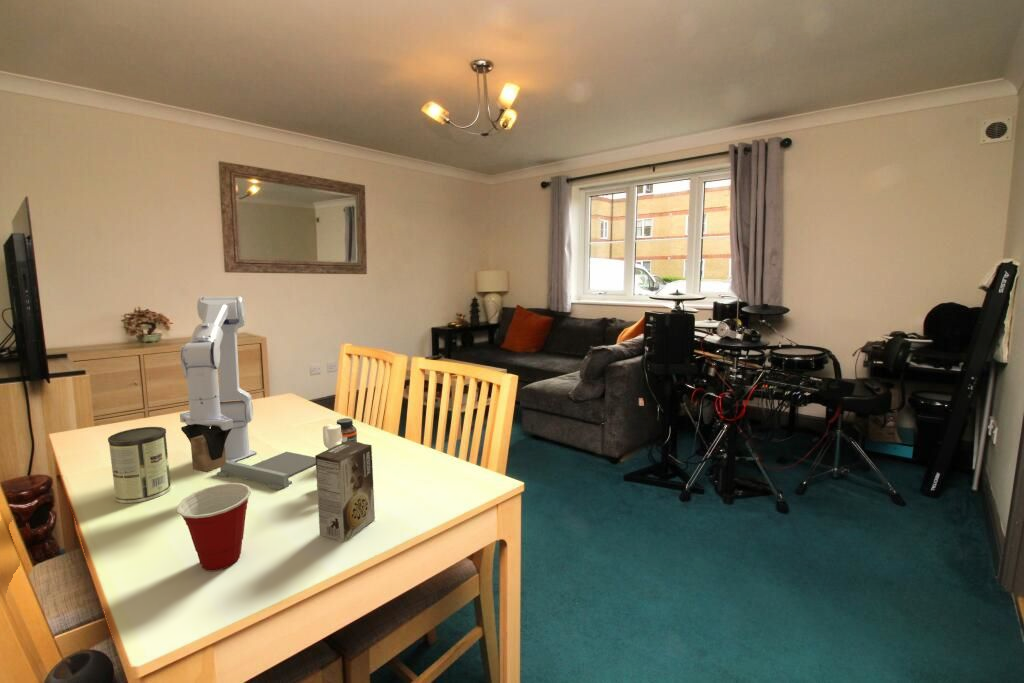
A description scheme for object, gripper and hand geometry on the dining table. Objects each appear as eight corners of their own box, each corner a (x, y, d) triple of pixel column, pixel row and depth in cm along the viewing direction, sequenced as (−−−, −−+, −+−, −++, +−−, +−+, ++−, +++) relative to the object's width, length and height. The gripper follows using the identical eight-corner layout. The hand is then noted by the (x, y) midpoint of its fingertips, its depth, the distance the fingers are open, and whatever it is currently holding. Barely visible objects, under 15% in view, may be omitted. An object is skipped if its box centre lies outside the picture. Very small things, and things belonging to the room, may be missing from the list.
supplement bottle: (350, 465, 126) (348, 424, 124) (329, 464, 127) (327, 422, 125) (361, 457, 131) (360, 417, 130) (342, 455, 133) (340, 416, 131)
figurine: (329, 499, 106) (326, 434, 105) (313, 485, 113) (310, 424, 111) (360, 490, 111) (358, 427, 109) (343, 477, 118) (341, 418, 116)
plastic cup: (166, 572, 80) (160, 504, 78) (225, 539, 90) (221, 479, 88) (213, 587, 76) (207, 516, 74) (269, 551, 86) (265, 488, 84)
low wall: (215, 474, 119) (214, 463, 119) (230, 469, 123) (229, 457, 123) (279, 490, 111) (278, 478, 110) (293, 483, 114) (292, 471, 114)
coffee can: (131, 485, 113) (126, 427, 111) (180, 482, 115) (175, 425, 113) (103, 505, 103) (96, 442, 101) (156, 502, 105) (150, 439, 103)
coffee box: (350, 514, 100) (347, 439, 98) (375, 520, 98) (373, 443, 96) (317, 535, 92) (313, 454, 90) (344, 542, 89) (340, 459, 87)
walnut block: (192, 469, 105) (190, 438, 104) (212, 462, 109) (210, 432, 108) (206, 472, 103) (204, 441, 103) (226, 465, 108) (223, 435, 107)
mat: (248, 468, 123) (248, 466, 123) (286, 453, 134) (286, 451, 134) (288, 477, 118) (288, 475, 118) (324, 461, 129) (324, 459, 129)
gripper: (163, 397, 104) (169, 457, 105) (208, 404, 98) (213, 468, 100) (196, 390, 110) (200, 447, 112) (240, 397, 104) (244, 457, 106)
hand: (208, 456), depth 106 cm, fingers closed on walnut block, 4 cm apart
